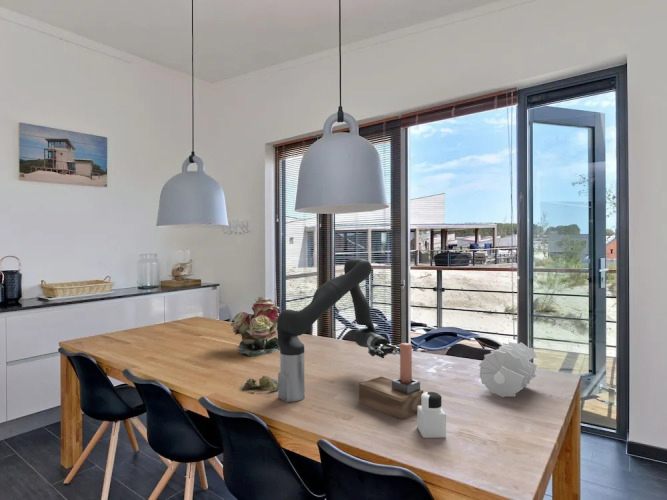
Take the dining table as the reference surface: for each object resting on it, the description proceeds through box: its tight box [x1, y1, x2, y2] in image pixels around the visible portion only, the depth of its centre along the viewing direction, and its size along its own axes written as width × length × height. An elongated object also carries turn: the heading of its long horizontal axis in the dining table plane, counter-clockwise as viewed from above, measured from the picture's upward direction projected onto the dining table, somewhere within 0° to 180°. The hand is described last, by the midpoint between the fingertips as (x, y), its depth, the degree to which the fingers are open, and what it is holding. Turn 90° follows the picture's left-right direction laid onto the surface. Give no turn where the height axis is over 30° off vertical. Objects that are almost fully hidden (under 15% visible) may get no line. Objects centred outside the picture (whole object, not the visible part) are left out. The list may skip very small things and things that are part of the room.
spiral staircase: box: [478, 341, 538, 399], centre depth 160 cm, size 18×18×25 cm
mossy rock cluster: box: [239, 375, 278, 395], centre depth 165 cm, size 18×18×5 cm
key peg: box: [399, 342, 413, 384], centre depth 141 cm, size 4×4×16 cm
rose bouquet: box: [230, 296, 282, 358], centre depth 223 cm, size 26×29×30 cm
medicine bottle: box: [416, 391, 447, 439], centre depth 123 cm, size 7×7×12 cm
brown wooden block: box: [358, 376, 424, 421], centre depth 144 cm, size 12×20×10 cm, turn 40°
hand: (394, 354), depth 151 cm, fingers open, 8 cm apart
